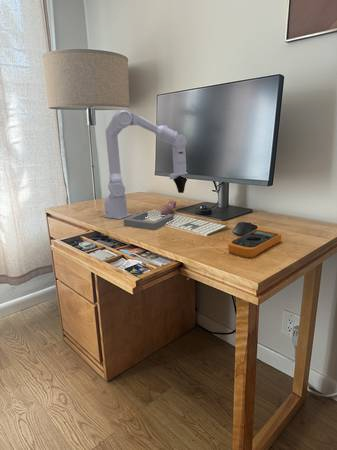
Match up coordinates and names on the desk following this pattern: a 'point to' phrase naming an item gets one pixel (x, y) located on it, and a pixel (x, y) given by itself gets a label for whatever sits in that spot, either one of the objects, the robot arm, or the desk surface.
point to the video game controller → (169, 208)
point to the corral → (140, 223)
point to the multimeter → (254, 242)
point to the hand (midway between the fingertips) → (181, 192)
